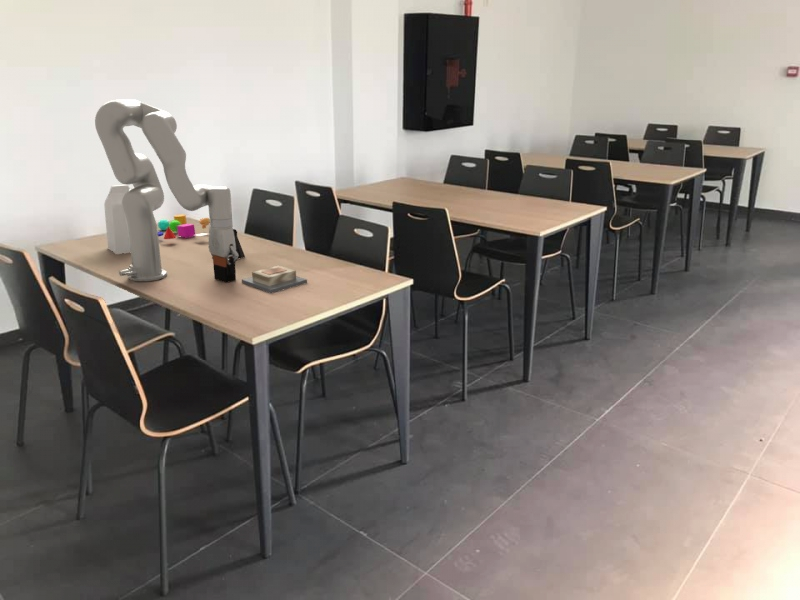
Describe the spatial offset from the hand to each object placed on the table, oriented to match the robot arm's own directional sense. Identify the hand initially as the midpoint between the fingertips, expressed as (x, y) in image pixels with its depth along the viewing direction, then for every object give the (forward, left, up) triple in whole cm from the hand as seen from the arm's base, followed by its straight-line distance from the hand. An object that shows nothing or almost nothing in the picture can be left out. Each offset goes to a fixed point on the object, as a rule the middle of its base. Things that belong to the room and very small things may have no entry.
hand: (224, 272), depth 222 cm
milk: (-4, +62, -3) cm, 62 cm away
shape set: (+23, +67, -3) cm, 71 cm away
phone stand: (+18, +22, -3) cm, 29 cm away
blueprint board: (+10, -15, -3) cm, 18 cm away
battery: (0, 0, -3) cm, 3 cm away
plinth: (+10, -15, -2) cm, 18 cm away
